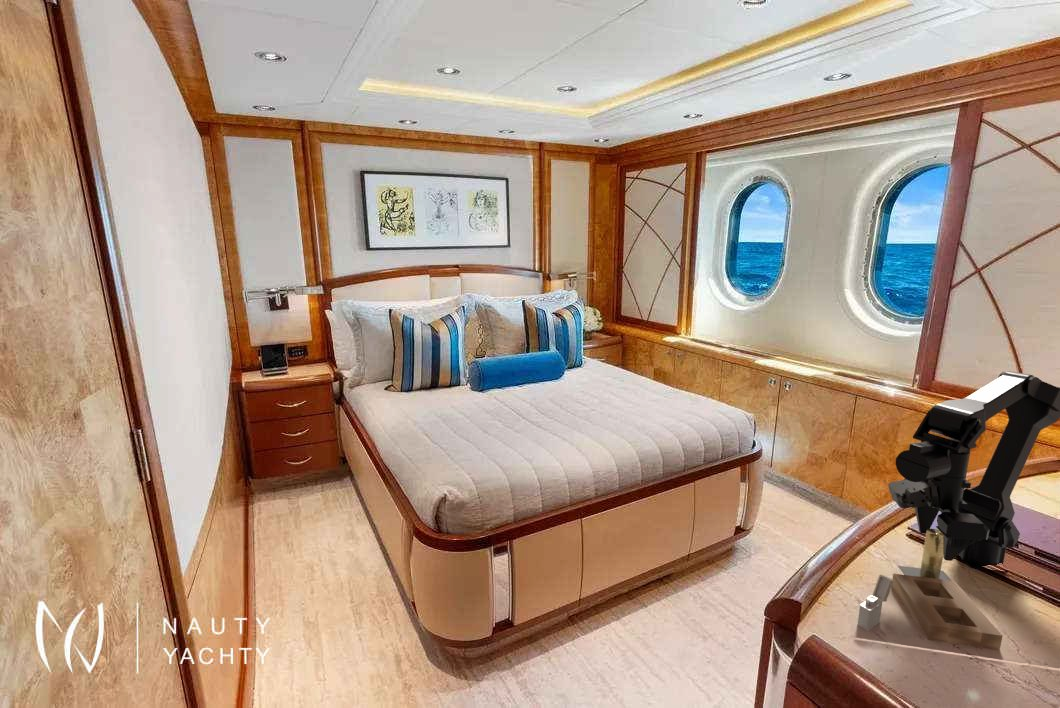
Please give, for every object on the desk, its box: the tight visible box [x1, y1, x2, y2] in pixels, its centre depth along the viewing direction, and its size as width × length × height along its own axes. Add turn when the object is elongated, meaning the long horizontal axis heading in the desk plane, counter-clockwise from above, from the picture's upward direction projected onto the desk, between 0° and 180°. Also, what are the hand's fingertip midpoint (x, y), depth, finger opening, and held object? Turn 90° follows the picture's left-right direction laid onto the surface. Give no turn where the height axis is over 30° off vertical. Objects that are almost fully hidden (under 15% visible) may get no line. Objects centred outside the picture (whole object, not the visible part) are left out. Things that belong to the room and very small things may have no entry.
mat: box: [897, 565, 953, 581], centre depth 99 cm, size 8×7×1 cm
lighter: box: [857, 574, 893, 632], centre depth 87 cm, size 7×2×8 cm, turn 121°
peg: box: [920, 528, 944, 579], centre depth 98 cm, size 3×3×10 cm
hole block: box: [891, 573, 1003, 651], centre depth 89 cm, size 10×14×3 cm
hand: (934, 546), depth 97 cm, fingers open, 9 cm apart
